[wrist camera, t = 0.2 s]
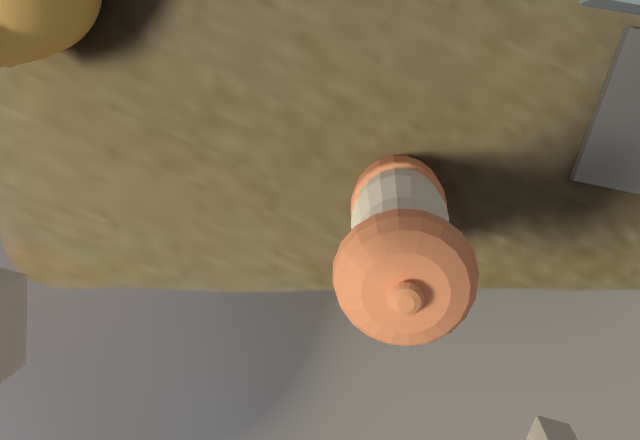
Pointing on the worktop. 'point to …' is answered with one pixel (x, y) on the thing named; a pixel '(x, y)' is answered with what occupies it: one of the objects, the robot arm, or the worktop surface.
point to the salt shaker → (403, 257)
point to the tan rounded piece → (42, 27)
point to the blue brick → (614, 5)
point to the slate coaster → (615, 125)
